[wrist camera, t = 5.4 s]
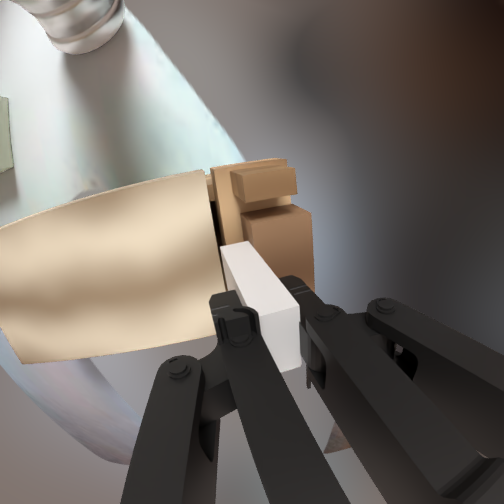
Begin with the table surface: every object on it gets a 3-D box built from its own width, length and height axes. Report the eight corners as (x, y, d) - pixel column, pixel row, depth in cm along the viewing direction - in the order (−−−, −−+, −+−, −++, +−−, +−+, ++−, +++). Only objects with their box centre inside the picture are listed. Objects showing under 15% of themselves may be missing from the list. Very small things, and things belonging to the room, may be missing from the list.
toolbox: (19, 213, 19) (-60, 261, 8) (247, 156, 23) (310, 161, 12) (52, 307, 23) (7, 389, 12) (261, 263, 27) (317, 338, 16)
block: (239, 213, 15) (251, 224, 13) (292, 203, 15) (311, 212, 13) (251, 294, 17) (263, 315, 15) (298, 282, 17) (314, 301, 15)
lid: (-19, 235, 12) (-34, 244, 11) (201, 169, 16) (204, 171, 14) (30, 349, 16) (22, 364, 14) (228, 314, 19) (233, 330, 18)
